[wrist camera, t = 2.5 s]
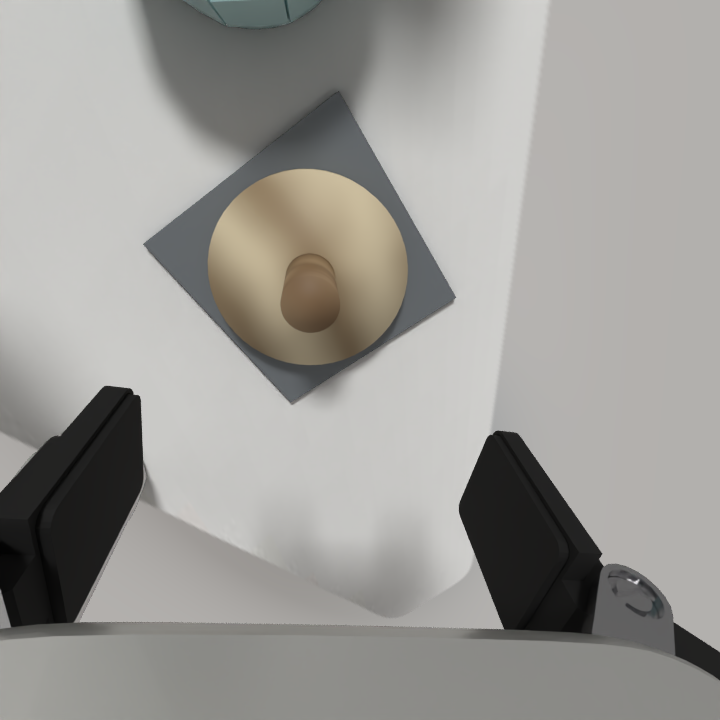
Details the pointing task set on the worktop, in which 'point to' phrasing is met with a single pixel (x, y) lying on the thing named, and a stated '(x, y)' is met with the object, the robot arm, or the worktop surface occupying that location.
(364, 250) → the lid
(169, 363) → the worktop surface
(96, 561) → the robot arm
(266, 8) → the bowl
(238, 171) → the mat
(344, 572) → the worktop surface
